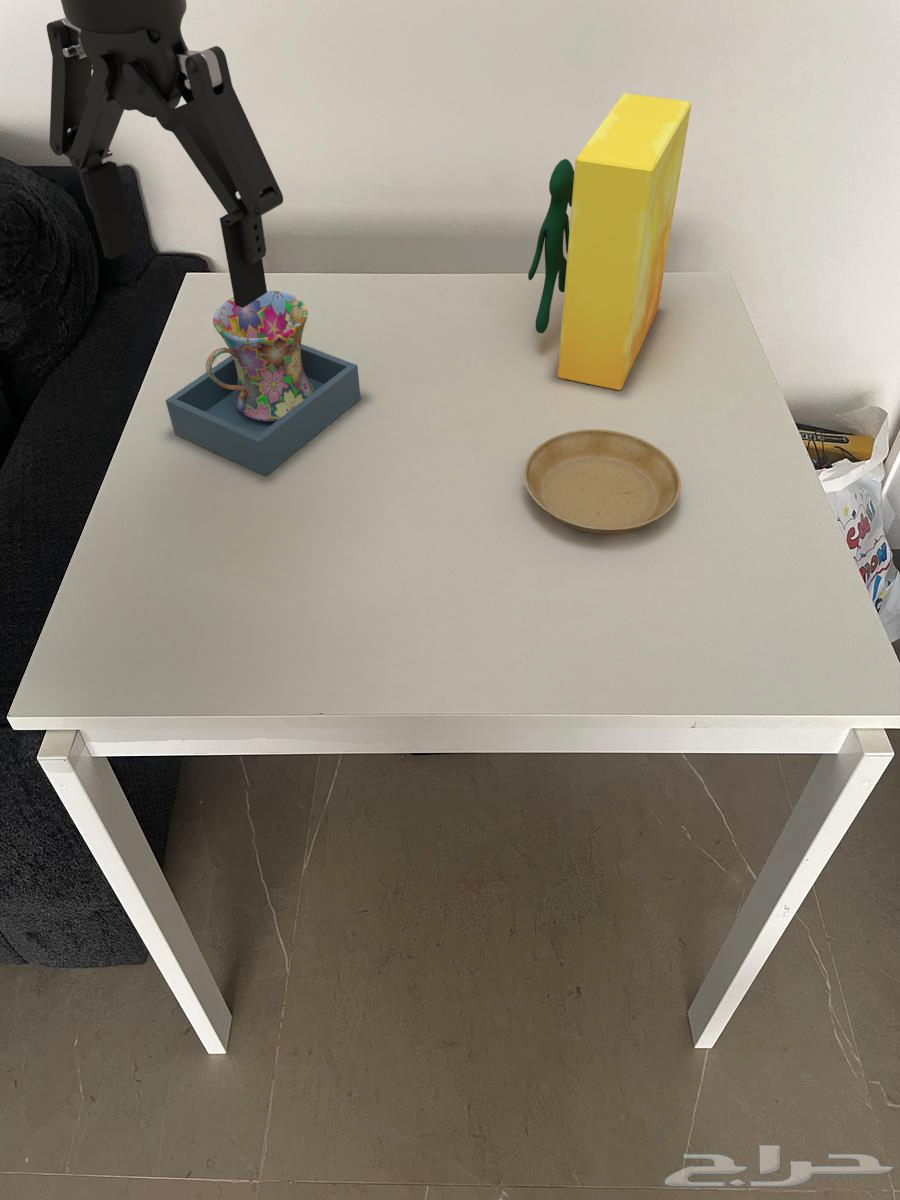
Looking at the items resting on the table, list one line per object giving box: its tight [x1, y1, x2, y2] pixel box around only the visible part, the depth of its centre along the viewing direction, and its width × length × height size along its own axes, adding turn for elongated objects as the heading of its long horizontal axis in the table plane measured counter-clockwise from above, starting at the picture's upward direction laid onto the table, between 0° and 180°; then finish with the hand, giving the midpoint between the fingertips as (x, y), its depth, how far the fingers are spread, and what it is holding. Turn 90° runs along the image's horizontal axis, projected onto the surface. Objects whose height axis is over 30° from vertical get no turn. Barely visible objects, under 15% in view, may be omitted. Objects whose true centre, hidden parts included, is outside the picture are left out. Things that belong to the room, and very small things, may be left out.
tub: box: [165, 343, 361, 477], centre depth 99 cm, size 13×16×4 cm
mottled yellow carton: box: [527, 92, 692, 391], centre depth 101 cm, size 18×12×24 cm
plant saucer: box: [523, 428, 682, 535], centre depth 90 cm, size 15×15×3 cm
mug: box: [205, 290, 315, 422], centre depth 96 cm, size 12×9×11 cm
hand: (183, 274), depth 73 cm, fingers open, 13 cm apart
